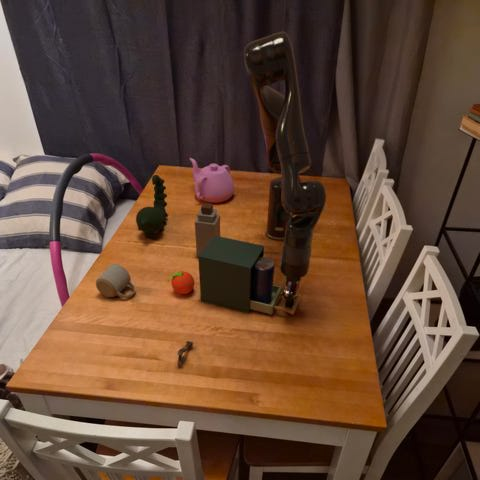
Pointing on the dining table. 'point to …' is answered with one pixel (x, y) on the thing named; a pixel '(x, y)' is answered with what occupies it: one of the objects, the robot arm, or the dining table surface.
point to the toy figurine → (153, 211)
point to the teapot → (212, 182)
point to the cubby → (228, 272)
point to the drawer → (274, 303)
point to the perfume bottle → (206, 226)
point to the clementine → (182, 282)
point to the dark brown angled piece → (188, 345)
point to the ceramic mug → (114, 281)
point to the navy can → (262, 280)
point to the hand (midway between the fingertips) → (289, 306)
